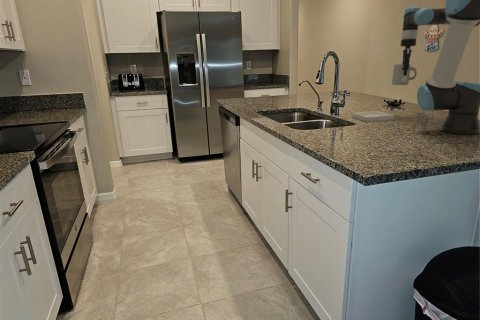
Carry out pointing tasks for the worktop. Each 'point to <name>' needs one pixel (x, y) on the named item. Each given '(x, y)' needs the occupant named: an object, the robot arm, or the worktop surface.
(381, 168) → the worktop surface
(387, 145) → the worktop surface
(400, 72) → the mug
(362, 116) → the tray
